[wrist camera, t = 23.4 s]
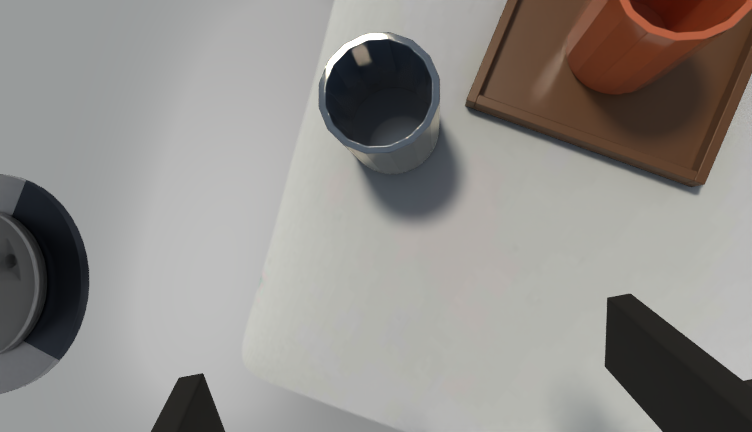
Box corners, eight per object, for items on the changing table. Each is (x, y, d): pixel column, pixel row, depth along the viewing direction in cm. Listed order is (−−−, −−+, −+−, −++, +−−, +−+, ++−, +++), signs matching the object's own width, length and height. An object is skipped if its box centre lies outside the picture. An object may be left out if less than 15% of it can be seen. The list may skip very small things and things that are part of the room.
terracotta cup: (550, 75, 36) (594, 15, 26) (587, -14, 35) (646, -110, 26) (647, 108, 34) (732, 58, 24) (686, 15, 34) (787, -73, 24)
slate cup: (335, 155, 39) (300, 128, 29) (369, 72, 38) (345, 16, 28) (417, 187, 37) (411, 171, 27) (452, 102, 37) (458, 55, 27)
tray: (464, 105, 37) (466, 99, 35) (541, -80, 37) (546, -95, 35) (691, 187, 34) (704, 184, 32) (776, -14, 34) (794, -27, 32)
